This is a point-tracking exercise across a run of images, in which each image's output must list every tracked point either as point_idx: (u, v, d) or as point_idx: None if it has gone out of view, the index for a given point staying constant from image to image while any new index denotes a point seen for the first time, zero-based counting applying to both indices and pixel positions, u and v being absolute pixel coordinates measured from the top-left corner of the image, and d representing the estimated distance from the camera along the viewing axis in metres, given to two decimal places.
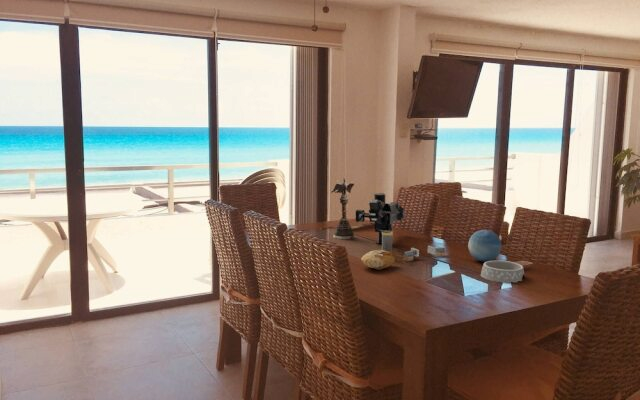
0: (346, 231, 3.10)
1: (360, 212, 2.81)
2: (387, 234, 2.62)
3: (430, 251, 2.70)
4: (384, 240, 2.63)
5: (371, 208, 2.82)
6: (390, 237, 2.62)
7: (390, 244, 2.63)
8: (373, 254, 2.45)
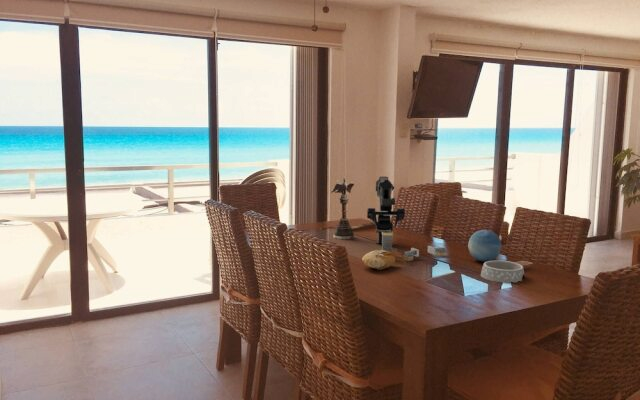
0: (346, 231, 3.10)
1: (373, 214, 2.74)
2: (387, 234, 2.62)
3: (430, 251, 2.70)
4: (384, 240, 2.63)
5: (383, 206, 2.75)
6: (390, 237, 2.62)
7: (390, 244, 2.63)
8: (374, 254, 2.44)
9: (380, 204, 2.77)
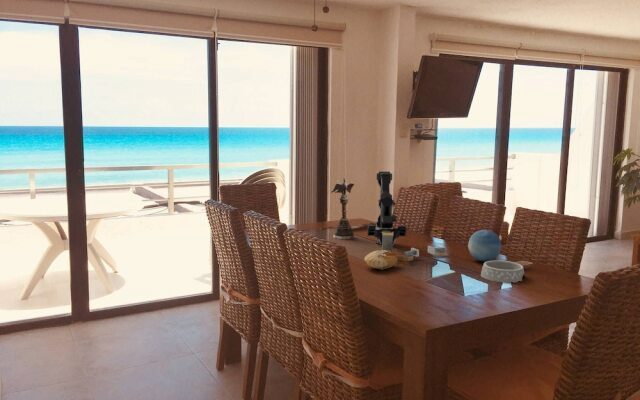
0: (346, 231, 3.10)
1: (378, 231, 2.66)
2: (387, 234, 2.62)
3: (430, 251, 2.70)
4: (384, 240, 2.63)
5: (383, 223, 2.66)
6: (390, 237, 2.62)
7: (390, 244, 2.63)
8: (376, 254, 2.44)
9: (381, 221, 2.68)
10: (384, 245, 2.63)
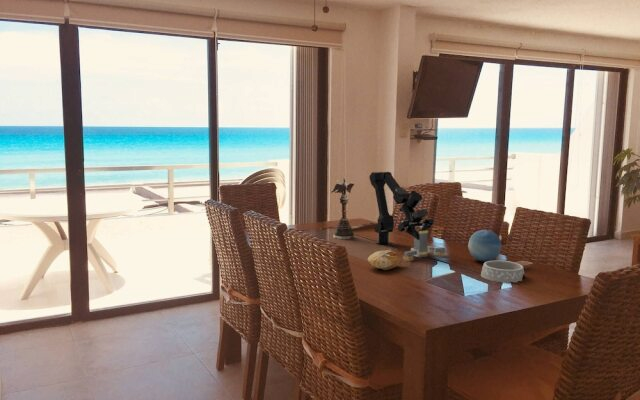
0: (346, 231, 3.10)
1: (413, 226, 2.67)
2: (423, 232, 2.66)
3: (430, 251, 2.70)
4: (421, 238, 2.66)
5: (415, 218, 2.68)
6: (425, 235, 2.67)
7: (425, 242, 2.67)
8: (380, 255, 2.43)
9: (411, 216, 2.70)
10: (420, 243, 2.66)
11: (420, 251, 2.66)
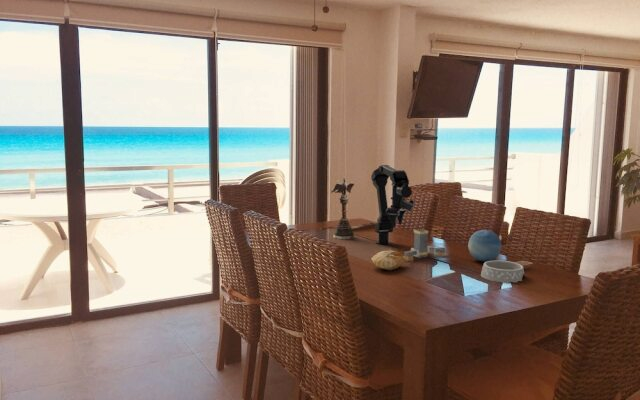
0: (346, 231, 3.10)
1: (397, 215, 2.73)
2: (424, 233, 2.66)
3: (430, 251, 2.70)
4: (421, 239, 2.66)
5: None
6: (426, 235, 2.67)
7: (426, 242, 2.67)
8: (384, 255, 2.43)
9: (401, 204, 2.75)
10: (421, 244, 2.66)
11: (420, 251, 2.66)
